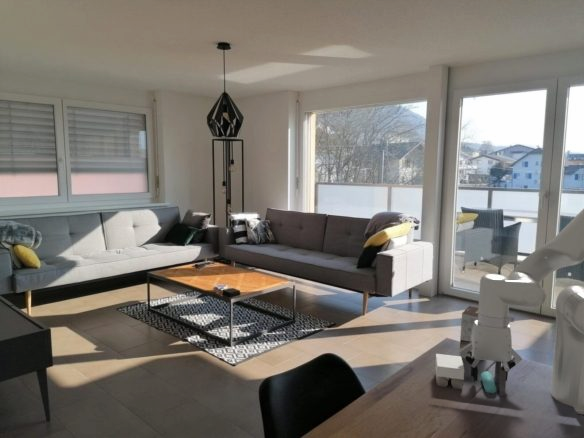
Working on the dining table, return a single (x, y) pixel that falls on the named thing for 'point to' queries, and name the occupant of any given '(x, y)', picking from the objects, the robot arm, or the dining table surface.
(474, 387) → the dining table surface
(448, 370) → the slab
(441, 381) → the roller bed
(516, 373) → the dining table surface
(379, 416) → the dining table surface
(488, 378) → the roller
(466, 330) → the coffee box
